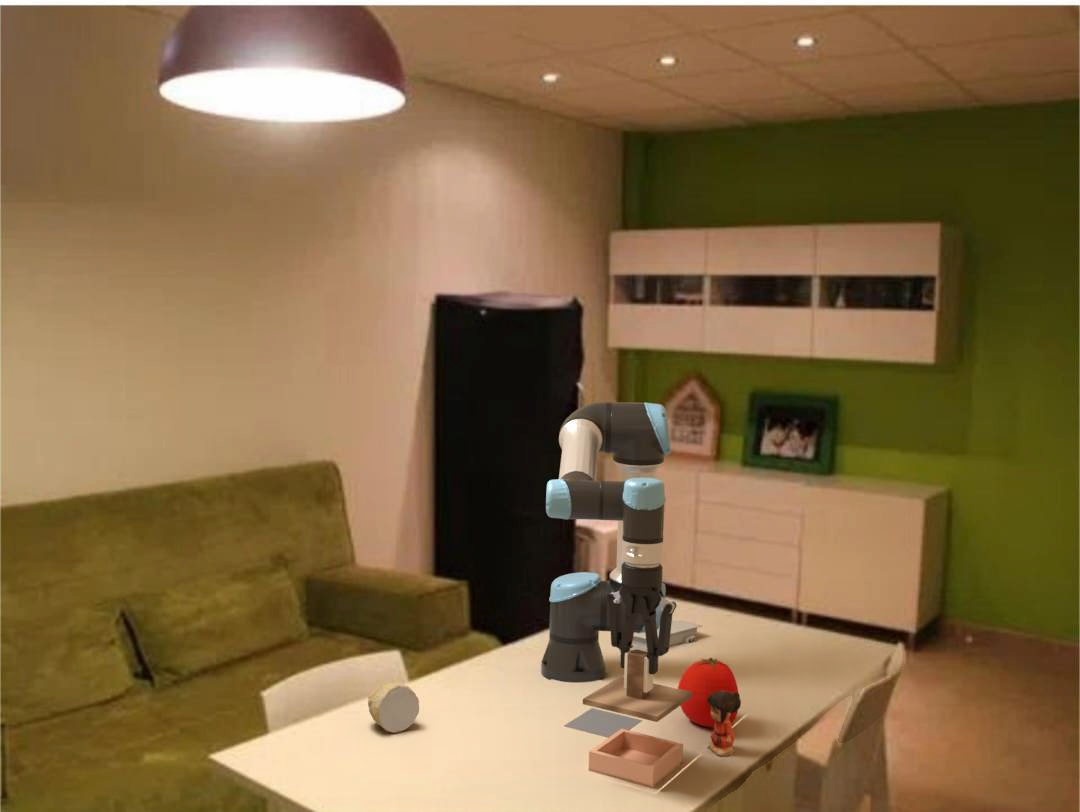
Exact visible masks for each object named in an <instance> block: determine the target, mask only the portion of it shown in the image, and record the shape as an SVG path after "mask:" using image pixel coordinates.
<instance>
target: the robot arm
mask: <svg viewBox="0 0 1080 812" xmlns="http://www.w3.org/2000/svg"><path fill="white" fill-rule="evenodd" d="M669 427H670V426H669V419H668V413H667V410H666V407H665V406H664V405H662V404H660V403H653V402H652V403H651V402H637V401H635V402H633V401H632V402H631V401H628V402H625V401H624V402H615V401H614V402H612V401H611V402H606V401H599V402H598V401H596V402H592V403H589V404H586V405H584V406H581V407H580V408H578V409H575V411H573V412H572V413H571V414H570V415H569V416H567V418H566V419H565V420H564V421H563V423H562V424H561V426H560V430H559V436H558V443H559V446H560V449H561V455H560V456H561V457H560V466H559V475H558V479H550V480H549V481H547V484H546V492H545V493H546V495H545V496H546V497H545V512H546V514H547V516H548V517H549V518H552V519H562V520H566V521H567V520H592V521H593V520H597V521H598V520H599V521H617V533H616V534H617V539H616V543H617V544H616V566H615V568H614V569H613V570H612V571H611V572H610V573H609V580H602V578H601V576H600V574H599V573H596V572H591V571H590V572H589V571H584V572H583V571H580V572H573V573H571V572H570V573H568V574H567V573H566V574H564V575H560V576H558V577H557V578H555V579H554V580H553V581H552V582H551V584H550V596H549V598H548V599H549V600H548V601H549V602H550V605H549V607H550V609H549V633H548V634H549V637H548V638H549V639H548V642H547V646H546V647H545V651H544V654H543V656H542V659H541V664H540V665H541V668H540V669H541V671H540V673H541V675H542V676H543V677H544V678H546V679H549V680H553V681H559V682H563V683H578V684H579V683H589V682H593V681H599V680H601V679H603V677H604V678H605V675H606V663H605V659H604V655H603V652H602V649H601V646H600V642H599V641H600V639H599V634H600V632H610V644H611V646H612V647H613V648H616V649H618V650H619V651H620V663H619V664H620V668H621V669H624V670H623V673H624V674H623V677H624V688H627V658H628V653H630V652H632V651H633V650H634V649H632V648H633V647H634V645H632V640H633V635H634V633H645V634H646V642H647V650H646V652H648V655H646V656H645V657H644V675H643V692H645V693H647V692H649V691H650V690H652V689H653V683H654V675H655V674H657V673H658V670H659V658H660V657H663V656H664V655H666V654H667V653H669V650H670V646H669V642H670V633H671V623H672V620H673V614H674V612H675V610H676V608H677V603H676V601H670V600H668V599H667V598H666V592H667V591H666V590H667V588H666V584H665V583H663V569H664V568H663V565H662V564H661V563H663V562H664V529H665V528H664V526H665V525H664V523H665V503H666V494H665V488H666V487H665V483H664V482H663V481H662V480H661V479H657V477H658V475H657V474H658V473H657V472H658V468H660V467H661V466H662V465H664V463H665V461H664V460H665V456H669V455H671V453H672V452H671V438H670V437H671V435H670V428H669ZM598 453H602V454H612V461H613V463H614V464H615V465H616V466H617V467H618V469H619V470H618V481H616V480H614V481H613V480H612V481H611V480H607V481H606V480H597V467H598V466H597V465H598V462H597V461H598ZM659 627H660V628H659ZM658 628H659V638H658V634H657V630H658Z"/></svg>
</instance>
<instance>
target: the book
mask: <svg viewBox="0 0 1080 812" xmlns="http://www.w3.org/2000/svg"><path fill="white" fill-rule="evenodd" d="M700 627H703V624H700V623H696V622H690V621H684V620H673V619H672V623H671V633H670V642H669V647H670V646H673V645H677V644H681V643H686V644H689V643H690V642H691V643H692V642H693V640H694V642H697V637H696V635H697V634H698V628H700ZM659 628H660V627H659ZM659 628H658V630H657V634H658V638H659ZM689 641H690V642H689ZM632 646H636V647H638V648H641V649H643V650H646V651H647V642H646V634H645V633H634V635H633V640H632Z"/></svg>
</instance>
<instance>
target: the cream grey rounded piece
mask: <svg viewBox="0 0 1080 812" xmlns="http://www.w3.org/2000/svg"><path fill="white" fill-rule="evenodd" d="M367 706H368V709H369V710H368V712H369V713H370V715H371V718H372V720H373V721H374V722H375V724H378V726H380V727H381V728H383V730H384V731H385V732H388V733H389V732H390V733H393V734H397V733H401V732H403V731H404V730H407V729H408V728H409V727H411V725H413V724H414V723H415V721H416V720H417V716H418V715H419V713H420V701H419V698H418V696H417V694H416V693H415V692H414V690H412V689H411V688H410V686H408V685H406V684H404V683H403V684H402V683H399V682H395V681H391V682H389V683H385V684H382V685H379V686H378V687H376V688H375V689H373V690H372V691H370V692H369V695H368V699H367Z"/></svg>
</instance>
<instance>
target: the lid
mask: <svg viewBox="0 0 1080 812" xmlns="http://www.w3.org/2000/svg"><path fill="white" fill-rule="evenodd" d="M632 650H633V651H632V652H630V653H628V658H627V688H624V676H619V677H618V678H617V677H616V679H614V680H612V681H610V682H609V683H607V684H605V685H604V686H602V687H601V688H599V689H597V690H595V691H593V692H592V693H590V694H588V695H587V696H585V697H584V698H583V699H582V705H584V706H588V707H592V708H595V709H600V710H604V711H605V710H606V711H608V712H609V711H610V712H612V713H616V714H620V715H626V716H629V717H633V718H637V719H641V720H642V719H643V720H648V721H651V722H656V723H658V722H660V721H661V720H662V719H663V718H665V717H667V716H668V715H670V714H671V713H672V712H673V711H674V710H676V709H678V708H679V707H681V706H680V705H682V704H683V703H684V702H686V701H687V700H689V699H690V698H691V697H692V692H690V691H685V690H681V689H678V688H675V687H672V686H671V687H670V686H667V685H662V684H658V683H654V682H653V689H652V690H650V691H649V692H647V693H645V692H643V675H644V657H645V656H646V655H648V651H647V650H646V651H645V650H641V649H632Z"/></svg>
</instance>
